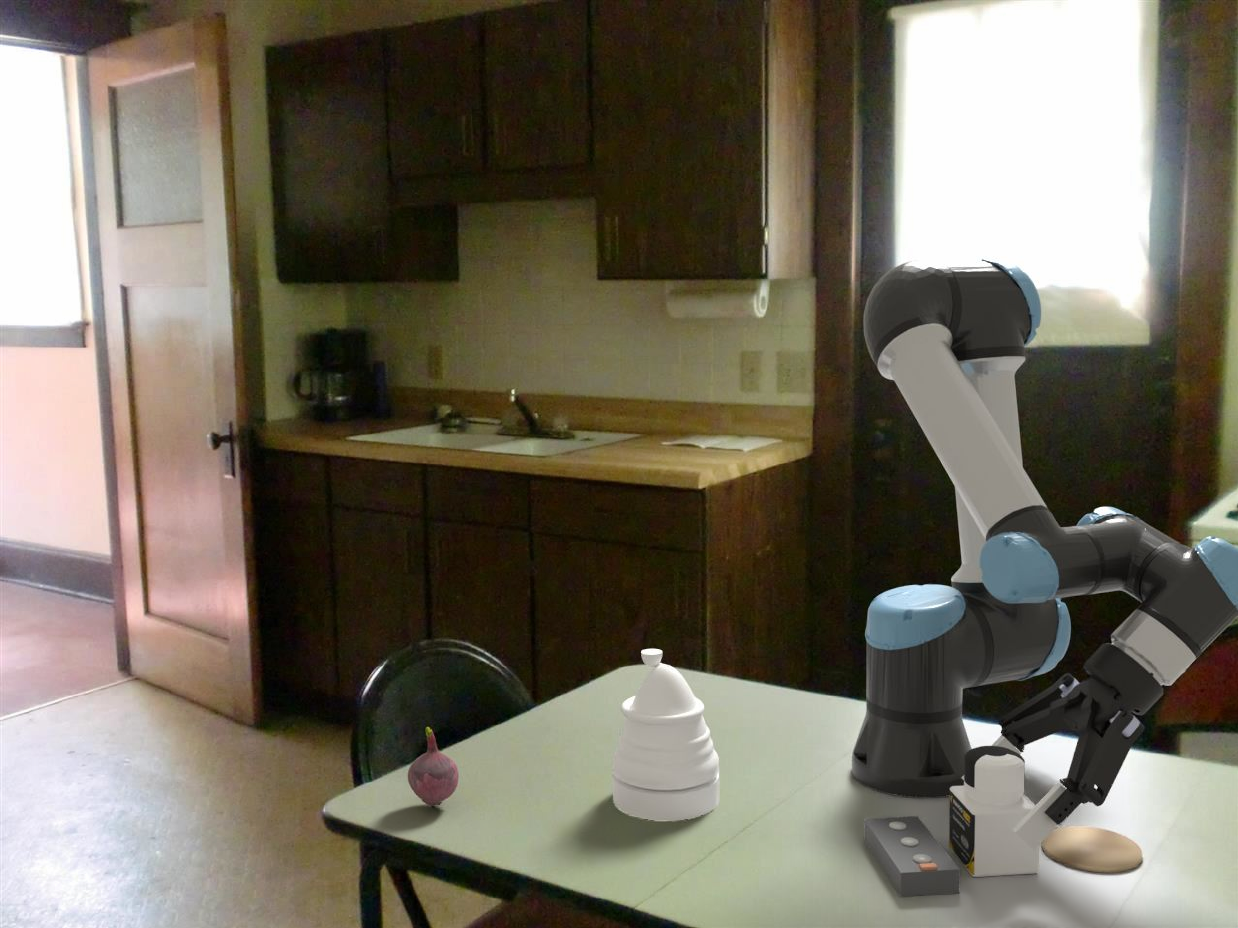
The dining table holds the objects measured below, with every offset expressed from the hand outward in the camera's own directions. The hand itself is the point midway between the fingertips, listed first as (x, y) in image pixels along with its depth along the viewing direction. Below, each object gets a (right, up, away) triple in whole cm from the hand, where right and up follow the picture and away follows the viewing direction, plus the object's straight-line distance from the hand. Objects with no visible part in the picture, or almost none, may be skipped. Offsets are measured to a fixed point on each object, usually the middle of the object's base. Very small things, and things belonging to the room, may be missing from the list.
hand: (995, 812), depth 125 cm
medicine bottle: (0, -6, +2) cm, 6 cm away
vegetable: (-61, -5, +19) cm, 64 cm away
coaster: (+11, -5, +3) cm, 13 cm away
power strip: (-9, -6, +1) cm, 11 cm away
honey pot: (-34, -4, +20) cm, 39 cm away
